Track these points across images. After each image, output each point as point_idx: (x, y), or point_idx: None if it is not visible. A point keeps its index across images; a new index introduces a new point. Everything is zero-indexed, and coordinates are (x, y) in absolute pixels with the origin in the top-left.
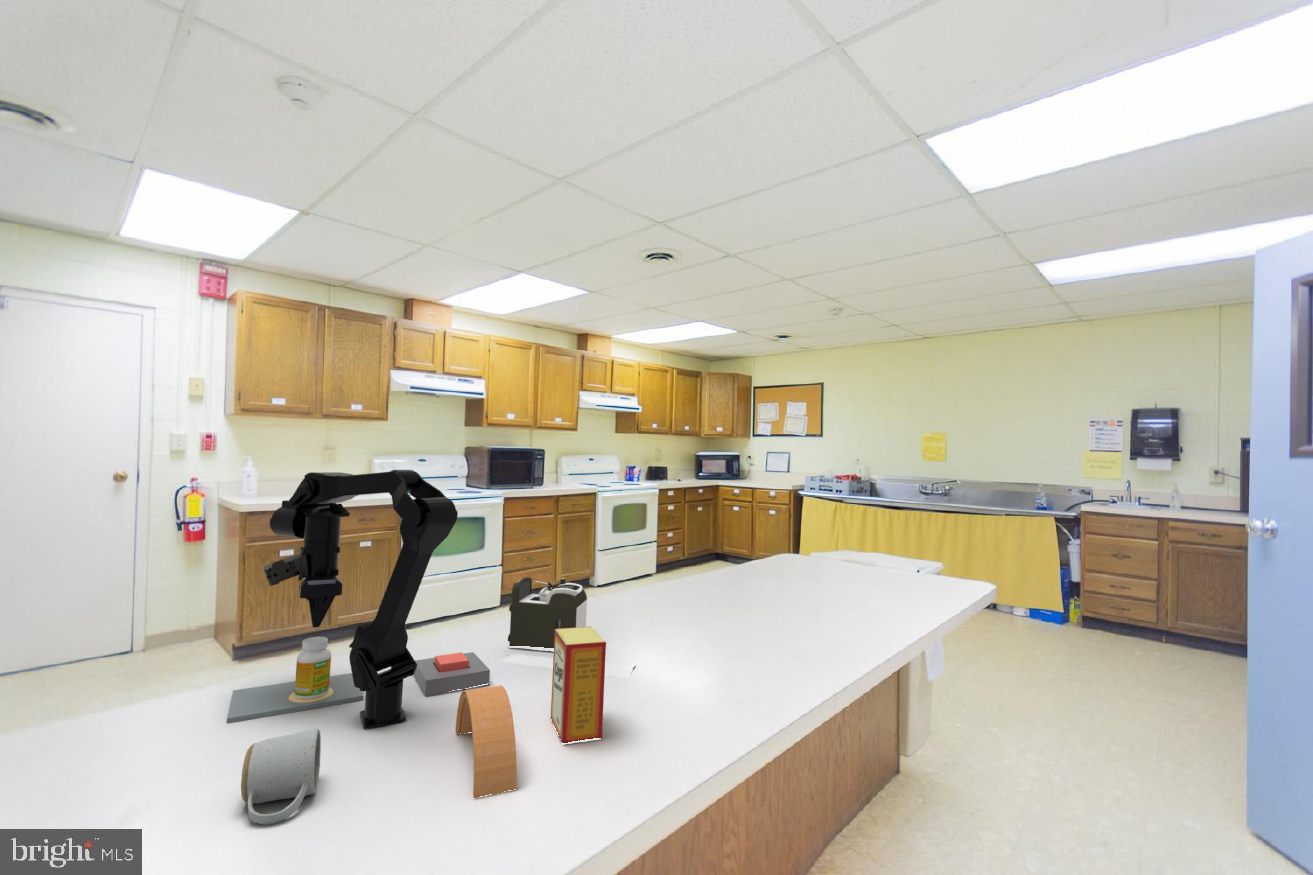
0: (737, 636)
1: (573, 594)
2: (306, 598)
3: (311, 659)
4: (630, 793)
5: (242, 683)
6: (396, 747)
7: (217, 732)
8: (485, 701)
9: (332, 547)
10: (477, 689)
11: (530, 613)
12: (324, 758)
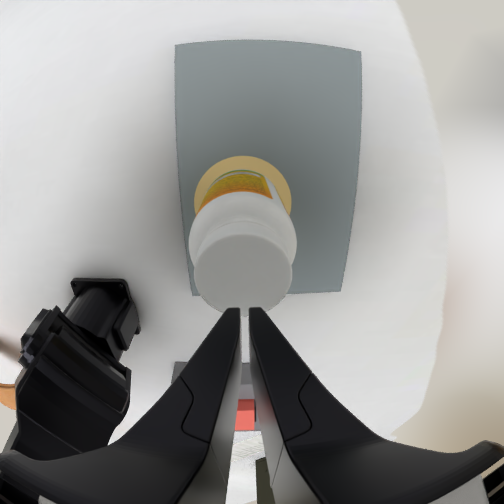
0: (238, 495)
1: None
2: (86, 453)
3: (189, 240)
4: (6, 383)
5: (416, 82)
6: (32, 301)
7: (138, 43)
8: None
9: None
10: (3, 395)
11: None
12: (13, 227)
